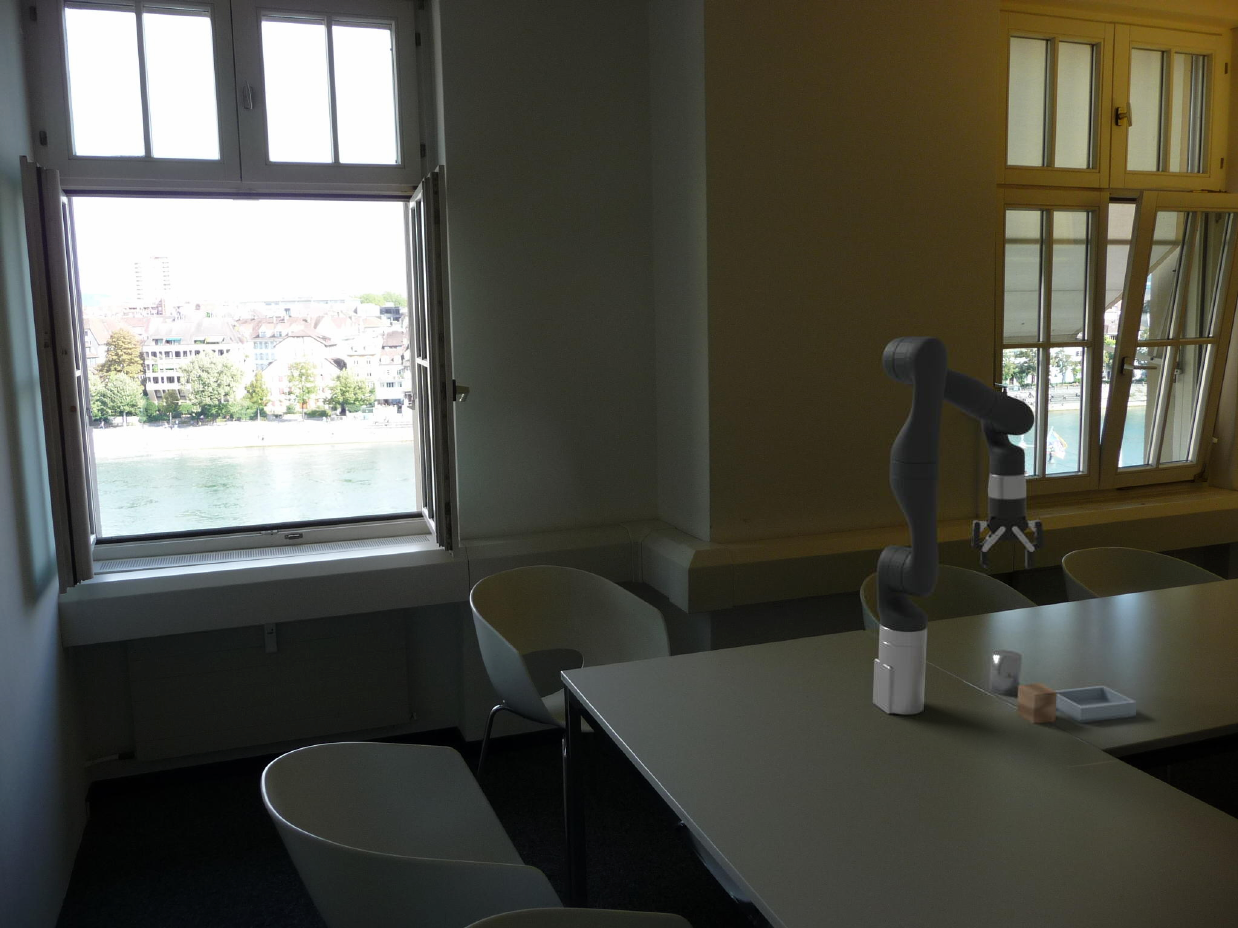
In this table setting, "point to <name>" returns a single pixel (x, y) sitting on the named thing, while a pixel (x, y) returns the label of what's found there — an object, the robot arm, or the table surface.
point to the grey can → (1005, 672)
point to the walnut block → (1036, 703)
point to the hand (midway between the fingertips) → (1007, 567)
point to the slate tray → (1094, 704)
